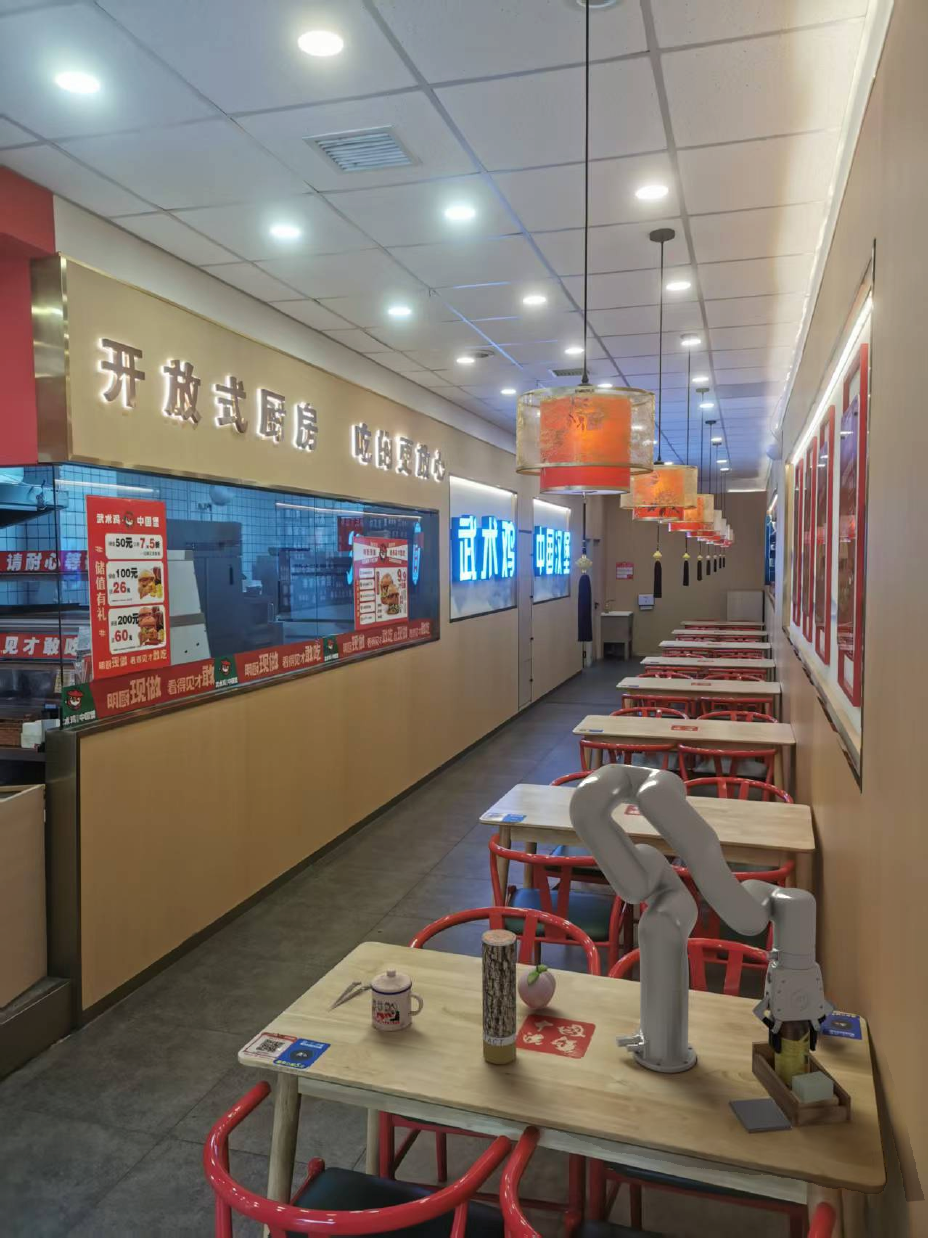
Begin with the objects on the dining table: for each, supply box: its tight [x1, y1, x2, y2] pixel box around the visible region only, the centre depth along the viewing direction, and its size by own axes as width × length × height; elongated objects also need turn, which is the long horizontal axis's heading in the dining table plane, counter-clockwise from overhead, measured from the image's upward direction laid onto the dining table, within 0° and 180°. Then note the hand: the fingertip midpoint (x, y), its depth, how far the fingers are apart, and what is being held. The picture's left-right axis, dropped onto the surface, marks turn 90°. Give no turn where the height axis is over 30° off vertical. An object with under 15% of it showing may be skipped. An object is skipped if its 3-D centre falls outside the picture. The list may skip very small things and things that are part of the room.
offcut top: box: [792, 1071, 833, 1104], centre depth 160 cm, size 6×4×3 cm, turn 106°
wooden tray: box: [751, 1040, 852, 1127], centre depth 165 cm, size 11×17×6 cm, turn 6°
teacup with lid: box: [369, 967, 424, 1032], centre depth 192 cm, size 12×9×12 cm
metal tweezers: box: [327, 980, 371, 1013], centre depth 203 cm, size 17×5×2 cm, turn 151°
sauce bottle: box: [775, 1020, 811, 1091], centre depth 167 cm, size 6×6×20 cm
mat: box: [728, 1097, 792, 1133], centre depth 159 cm, size 8×8×1 cm
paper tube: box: [481, 929, 517, 1065], centre depth 178 cm, size 7×7×25 cm
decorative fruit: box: [516, 964, 557, 1010], centre depth 198 cm, size 9×8×10 cm
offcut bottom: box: [790, 1091, 839, 1109], centre depth 160 cm, size 8×4×4 cm, turn 97°
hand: (792, 1047), depth 168 cm, fingers closed on sauce bottle, 6 cm apart
